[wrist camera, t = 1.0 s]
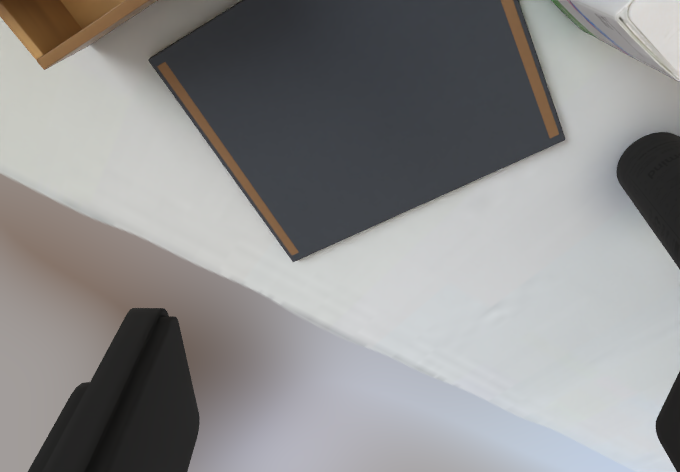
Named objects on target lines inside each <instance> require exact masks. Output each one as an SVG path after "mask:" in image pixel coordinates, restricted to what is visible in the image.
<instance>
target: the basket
mask: <svg viewBox="0 0 680 472" xmlns="http://www.w3.org/2000/svg"><path fill="white" fill-rule="evenodd" d="M156 1H158V0H0V17H1V18H2V19H3V20H4V22H5V23H6V24H7V25H8V26H9V28H10V29H11V30H12V31H13V33H14V34H15V35H16V36H17V37H18V39H19V40H20V41H21V42H22V43H23V45H24V46H25V47H26V48H27V50H28V51H29V52H30V53H31V54H32V56H33V57H34V58H35V59H36V60H37V62H38V63H39V64H40V65H41V67H42V68H43V69H44V70H45V69H47V68H49V67H51V66H53V65H54V64H56V63H58V62H60V61H62V60H64V59H65V58H67V57H69V56H71V55H73V54H75V53H76V52H78V51H80V50H82V49H84V48H86V47H87V46H89V45H91V44H92V43H94V42H95V41H97V40H98V39H100V38H101V37H103V36H105V35H106V34H108V33H109V32H111V31H112V30H114V29H115V28H117V27H118V26H120V25H121V24H123V23H124V22H126V21H127V20H129V19H130V18H132V17H133V16H135V15H136V14H138V13H139V12H141V11H143V10H144V9H146V8H147V7H149V6H150V5H152V4H153V3H155V2H156Z"/></svg>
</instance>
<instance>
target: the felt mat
mask: <svg viewBox="0 0 680 472" xmlns="http://www.w3.org/2000/svg"><path fill="white" fill-rule="evenodd" d="M149 62H150V63H151V65H152V66H153V67H154V69H155V70H156V72H157V73H158V74H159V76H160V77H161V79H162V80H163V81H164V83H165V84H166V86H167V87H168V88H169V90H170V91H171V92H172V94H173V95H174V97H175V98H176V99H177V101H178V102H179V104H180V105H181V106H182V108H183V109H184V111H185V112H186V113H187V115H188V116H189V118H190V119H191V120H192V122H193V123H194V125H195V126H196V127H197V129H198V130H199V132H200V133H201V134H202V136H203V137H204V138H205V140H206V141H207V143H208V144H209V145H210V147H211V148H212V150H213V151H214V152H215V154H216V155H217V157H218V158H219V159H220V161H221V162H222V164H223V165H224V166H225V168H226V169H227V171H228V172H229V173H230V175H231V176H232V178H233V179H234V180H235V182H236V183H237V184H238V186H239V187H240V189H241V190H242V191H243V193H244V194H245V196H246V197H247V198H248V200H249V201H250V203H251V204H252V205H253V207H254V208H255V210H256V211H257V212H258V214H259V215H260V217H261V218H262V219H263V221H264V222H265V224H266V225H267V226H268V228H269V229H270V230H271V232H272V233H273V235H274V236H275V237H276V239H277V240H278V242H279V243H280V244H281V246H282V247H283V249H284V250H285V251H286V253H287V254H288V256H289V257H290V258H291V260H292V261H293V262H294V261H297V260H299V259H301V258H303V257H306V256H308V255H310V254H312V253H314V252H317V251H319V250H321V249H323V248H326V247H328V246H330V245H332V244H335V243H337V242H339V241H341V240H343V239H346V238H348V237H350V236H352V235H355V234H357V233H359V232H361V231H363V230H366V229H368V228H370V227H372V226H375V225H377V224H379V223H381V222H383V221H386V220H388V219H390V218H392V217H395V216H397V215H399V214H401V213H403V212H406V211H408V210H410V209H412V208H415V207H417V206H419V205H421V204H424V203H426V202H428V201H430V200H432V199H435V198H437V197H439V196H441V195H444V194H446V193H448V192H450V191H452V190H455V189H457V188H459V187H461V186H464V185H466V184H468V183H470V182H472V181H475V180H477V179H479V178H481V177H484V176H486V175H488V174H490V173H492V172H495V171H497V170H499V169H501V168H504V167H506V166H508V165H510V164H513V163H515V162H517V161H519V160H521V159H524V158H526V157H528V156H530V155H533V154H535V153H537V152H539V151H541V150H544V149H546V148H548V147H550V146H553V145H555V144H557V143H559V142H561V141H564V140H565V137H564V134H563V131H562V128H561V125H560V122H559V119H558V116H557V113H556V110H555V107H554V104H553V101H552V99H551V96H550V93H549V90H548V87H547V84H546V81H545V78H544V75H543V72H542V69H541V66H540V63H539V60H538V57H537V54H536V52H535V49H534V46H533V43H532V40H531V37H530V34H529V31H528V28H527V25H526V22H525V19H524V16H523V13H522V10H521V7H520V5H519V2H518V0H242V1H241V2H239V3H238V4H236V5H234V6H233V7H231V8H230V9H228V10H226V11H225V12H223V13H222V14H220V15H218V16H217V17H215V18H214V19H212V20H210V21H209V22H207V23H206V24H204V25H202V26H201V27H199V28H198V29H196V30H194V31H193V32H191V33H190V34H188V35H186V36H185V37H183V38H182V39H180V40H178V41H177V42H175V43H173V44H172V45H170V46H169V47H167V48H165V49H164V50H162V51H161V52H159V53H157V54H156V55H154V56H153V57H151V58H150V59H149Z"/></svg>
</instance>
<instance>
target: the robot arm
mask: <svg viewBox="0 0 680 472" xmlns="http://www.w3.org/2000/svg"><path fill="white" fill-rule="evenodd" d="M198 430H199V412H198V408H197V403H196V399H195V395H194V390H193V385H192V381H191V376H190V372H189V368H188V363H187V359H186V354H185V349H184V345H183V340H182V336H181V332H180V327H179V323H178V319H177V318H176V317H169V316H168V313H167V311H166V310H165V309H163V308H132V309H131V310H130V311H129V312H128V313H127V315H126V317H125V319H124V321H123V322H122V324H121V326H120V328H119V330H118V332H117V334H116V335H115V337H114V339H113V341H112V343H111V345H110V347H109V348H108V350H107V352H106V354H105V356H104V358H103V360H102V362H101V363H100V365H99V367H98V369H97V371H96V373H95V375H94V376H93V378H92V380H91V382H87V383H82V384H80V385H79V386H78V387H76V389H75V390H74V392H73V393H72V394H71V396H70V398H69V399H68V401H67V403H66V405H65V407H64V408H63V410H62V412H61V414H60V416H59V417H58V419H57V421H56V423H55V424H54V426H53V428H52V430H51V431H50V433H49V435H48V437H47V439H46V441H45V442H44V444H43V446H42V447H41V449H40V451H39V453H38V455H37V456H36V458H35V460H34V462H33V463H32V465H31V467H30V469H29V471H28V472H187V471H188V467H189V464H190V460H191V456H192V453H193V449H194V446H195V442H196V439H197V435H198ZM656 432H657V436H658V438H659V441H660V443H661V444H662V446H663V448H664V450H665V451H666V453H667V455H668V457H669V458H670V460H671V462H672V464H673V465H674V467H675V469H676V471H677V472H680V372H679V374H678V376H677V378H676V380H675V382H674V384H673V386H672V388H671V390H670V392H669V395H668V397H667V399H666V401H665V403H664V405H663V407H662V409H661V411H660V413H659V415H658V417H657V420H656Z"/></svg>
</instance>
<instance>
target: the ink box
mask: <svg viewBox="0 0 680 472" xmlns="http://www.w3.org/2000/svg"><path fill="white" fill-rule="evenodd" d="M551 1H552V2H553V3H554V4H555V5H556V6H557V7H558V8H559V9H560V10H561V11H562V12H563V13H564V14H565V15H566V16H567V17H568V18H569V19H571V20H572V21H573V22H574V23H575V24H576V25H577V26H578V27H579V28H581V29H582V30H583V31H585V32H587V33H589V34H591V35H593V36H594V37H596V38H598V39H600V40H602V41H604V42H605V43H607V44H609V45H611V46H613V47H614V48H616V49H618V50H620V51H622V52H624V53H625V54H627V55H629V56H631V57H633V58H635V59H637V60H639V61H640V62H642V63H644V64H646V65H648V66H650V67H652V68H654V69H656V70H658V71H660V72H662V73H664V74H666V75H667V76H669V77H671V78H673V79H675V80H677V81H679V82H680V0H551Z"/></svg>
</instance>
